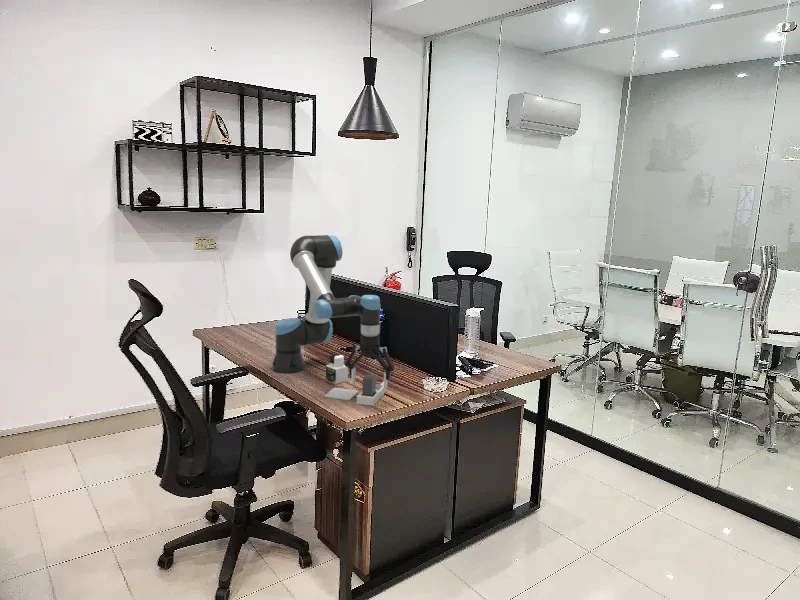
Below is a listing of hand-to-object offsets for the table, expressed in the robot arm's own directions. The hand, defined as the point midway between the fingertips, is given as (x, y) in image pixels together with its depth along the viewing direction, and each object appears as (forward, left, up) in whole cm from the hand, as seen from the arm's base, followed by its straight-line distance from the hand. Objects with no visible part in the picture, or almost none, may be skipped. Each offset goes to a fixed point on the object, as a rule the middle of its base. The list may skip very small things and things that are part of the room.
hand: (369, 385), depth 225 cm
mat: (-3, -13, -6) cm, 15 cm away
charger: (0, 0, -6) cm, 6 cm away
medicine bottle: (-18, -21, -7) cm, 29 cm away
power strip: (-9, 0, -6) cm, 11 cm away
